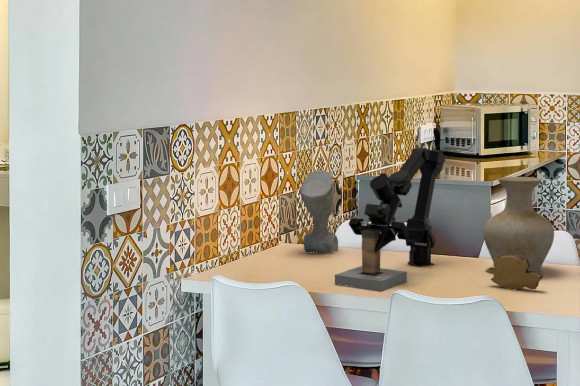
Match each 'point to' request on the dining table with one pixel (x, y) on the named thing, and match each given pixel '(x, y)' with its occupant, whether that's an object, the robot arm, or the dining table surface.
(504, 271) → the wooden carving
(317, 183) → the sculpture
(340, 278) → the socket
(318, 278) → the dining table surface
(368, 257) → the plug
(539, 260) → the vase
